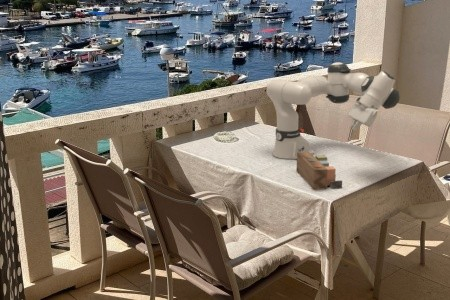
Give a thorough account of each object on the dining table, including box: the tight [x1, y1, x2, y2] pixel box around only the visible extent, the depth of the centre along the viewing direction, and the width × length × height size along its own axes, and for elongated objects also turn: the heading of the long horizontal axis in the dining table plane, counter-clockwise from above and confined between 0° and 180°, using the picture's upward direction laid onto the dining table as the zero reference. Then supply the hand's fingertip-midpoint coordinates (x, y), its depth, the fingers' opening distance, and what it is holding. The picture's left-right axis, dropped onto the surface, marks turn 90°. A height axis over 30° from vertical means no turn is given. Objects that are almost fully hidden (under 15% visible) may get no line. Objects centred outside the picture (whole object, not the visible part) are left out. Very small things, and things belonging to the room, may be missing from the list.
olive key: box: [314, 154, 328, 162], centre depth 275 cm, size 4×4×8 cm
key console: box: [295, 152, 343, 190], centre depth 266 cm, size 13×26×9 cm, turn 10°
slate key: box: [319, 160, 330, 167], centre depth 267 cm, size 4×4×8 cm
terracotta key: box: [326, 165, 336, 187], centre depth 259 cm, size 4×4×8 cm
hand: (352, 129), depth 265 cm, fingers closed
